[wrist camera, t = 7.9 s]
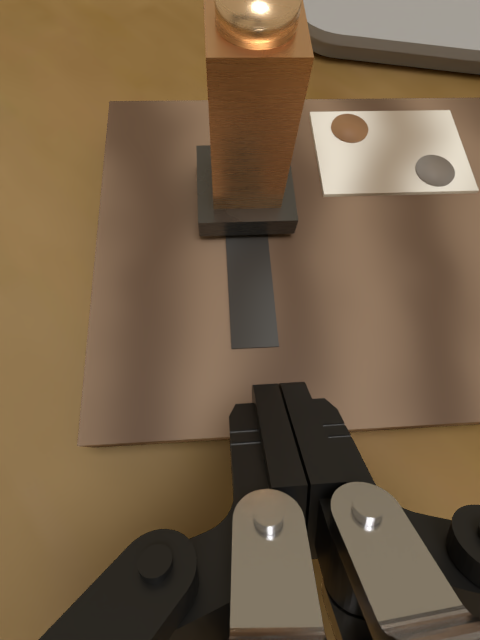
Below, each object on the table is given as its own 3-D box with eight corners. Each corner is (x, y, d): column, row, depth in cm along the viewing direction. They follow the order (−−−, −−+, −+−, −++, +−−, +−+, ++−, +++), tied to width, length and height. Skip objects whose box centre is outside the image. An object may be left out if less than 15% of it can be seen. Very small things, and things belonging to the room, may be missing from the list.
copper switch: (199, 236, 17) (176, 43, 9) (198, 161, 18) (176, -59, 10) (294, 233, 17) (352, 43, 9) (284, 160, 18) (327, -57, 11)
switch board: (95, 447, 16) (74, 445, 13) (119, 131, 22) (107, 96, 20) (740, 408, 17) (814, 401, 15) (589, 125, 23) (626, 91, 21)
